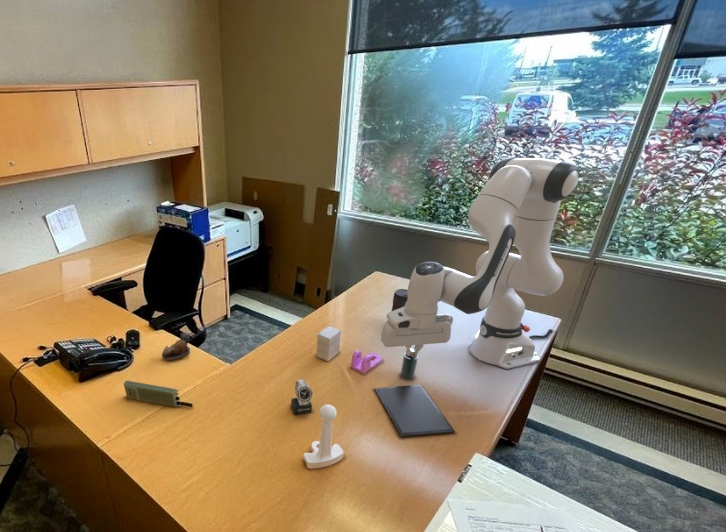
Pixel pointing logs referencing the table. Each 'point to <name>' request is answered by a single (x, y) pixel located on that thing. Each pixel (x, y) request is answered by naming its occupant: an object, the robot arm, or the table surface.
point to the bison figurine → (177, 348)
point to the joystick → (324, 442)
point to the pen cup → (408, 367)
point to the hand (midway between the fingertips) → (411, 354)
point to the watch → (302, 398)
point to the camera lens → (399, 299)
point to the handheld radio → (153, 394)
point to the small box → (328, 343)
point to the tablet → (413, 411)
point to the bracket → (364, 361)
